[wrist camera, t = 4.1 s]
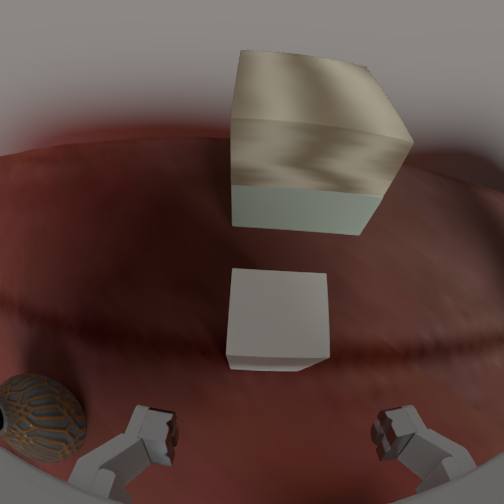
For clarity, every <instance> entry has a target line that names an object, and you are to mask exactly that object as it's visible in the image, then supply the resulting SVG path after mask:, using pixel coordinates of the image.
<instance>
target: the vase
mask: <svg viewBox="0 0 504 504" xmlns="http://www.w3.org/2000/svg"><path fill="white" fill-rule="evenodd" d="M86 432H87V425H86V418H85V414H84V412H83V409H82V407H81V405H80V403H79V402H78V400H77V399H76V397H75V396H74V395H73V394H72V393H71V392H70V391H69V390H68V389H67V388H66V387H65V386H63V385H62V384H60V383H59V382H57V381H55V380H54V379H51V378H49V377H46V376H42V375H38V374H30V373H28V374H20V375H16V376H13V377H11V378H9V379H7V380H6V381H5V382H4V383H3V384H2V385H1V386H0V437H2V438H3V439H4V440H5V441H6V442H7V443H8V444H9V445H10V446H11V447H12V448H13V449H14V450H15V451H17V452H18V453H20V454H21V455H23V456H25V457H27V458H29V459H32V460H35V461H39V462H44V463H54V462H60V461H63V460H66V459H68V458H70V457H72V456H73V455H74V454H76V453H77V452H78V450H79V449H80V448H81V446H82V445H83V443H84V440H85V437H86Z"/></svg>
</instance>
